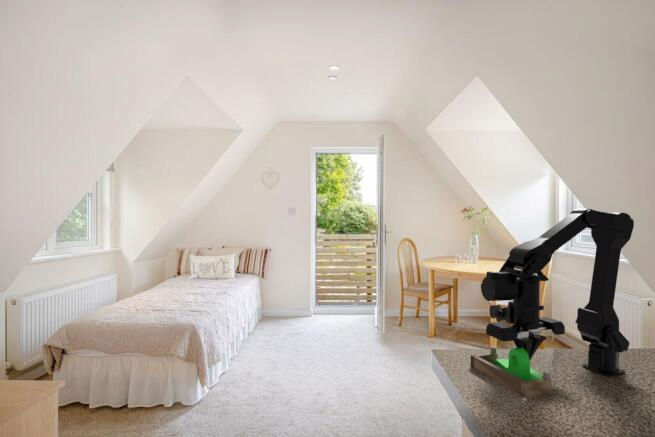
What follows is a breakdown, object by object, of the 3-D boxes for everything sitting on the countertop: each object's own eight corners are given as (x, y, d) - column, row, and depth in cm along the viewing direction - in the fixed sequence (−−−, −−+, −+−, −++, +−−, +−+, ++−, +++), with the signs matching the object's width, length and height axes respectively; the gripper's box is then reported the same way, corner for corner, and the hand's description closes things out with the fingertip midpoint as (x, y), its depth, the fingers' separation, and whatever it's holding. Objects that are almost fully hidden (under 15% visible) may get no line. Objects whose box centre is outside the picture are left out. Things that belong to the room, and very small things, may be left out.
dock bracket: (493, 363, 101) (493, 346, 101) (551, 393, 84) (552, 373, 84) (470, 366, 99) (470, 349, 99) (525, 398, 82) (526, 377, 82)
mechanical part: (547, 388, 87) (547, 352, 87) (521, 388, 87) (521, 353, 87) (518, 366, 99) (518, 335, 99) (495, 367, 99) (495, 335, 99)
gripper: (529, 290, 103) (528, 348, 104) (471, 294, 98) (470, 356, 98) (567, 299, 93) (565, 364, 93) (504, 305, 87) (503, 374, 87)
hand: (524, 363), depth 93 cm, fingers closed
